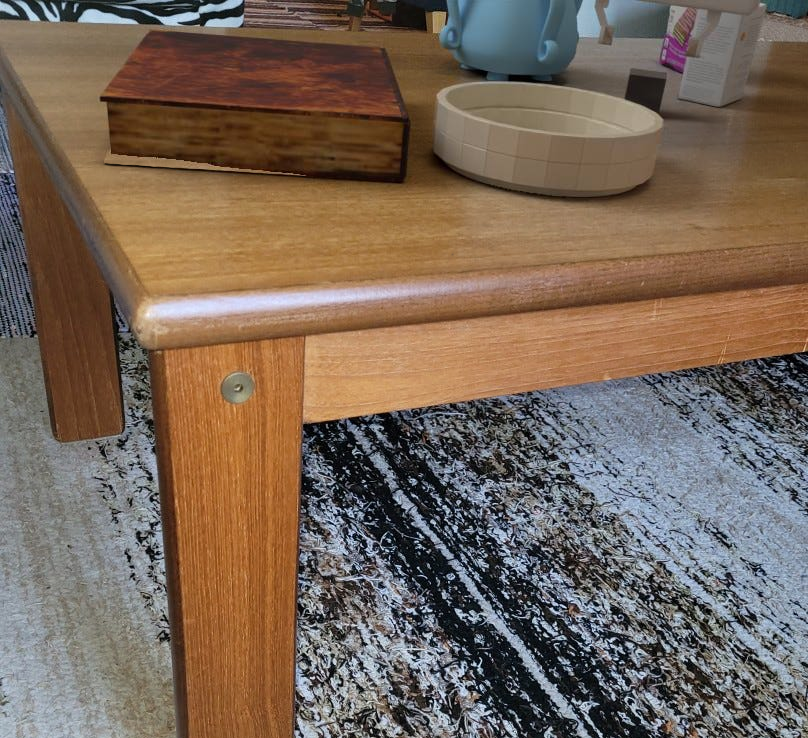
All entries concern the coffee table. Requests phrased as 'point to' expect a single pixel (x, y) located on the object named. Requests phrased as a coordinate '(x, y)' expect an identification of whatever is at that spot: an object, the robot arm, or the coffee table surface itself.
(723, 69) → the small box
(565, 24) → the decorative pot
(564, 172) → the bowl
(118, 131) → the book
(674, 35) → the candy bar box
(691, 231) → the coffee table surface
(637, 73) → the block
